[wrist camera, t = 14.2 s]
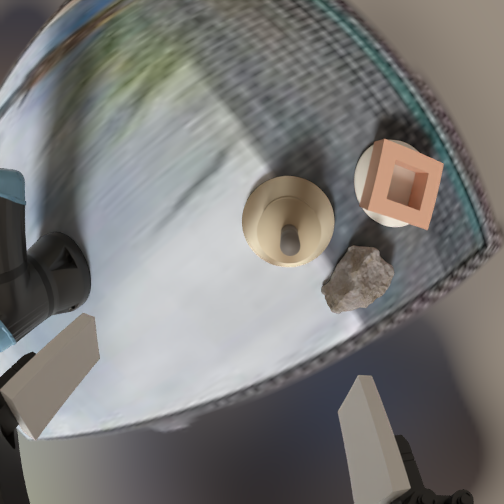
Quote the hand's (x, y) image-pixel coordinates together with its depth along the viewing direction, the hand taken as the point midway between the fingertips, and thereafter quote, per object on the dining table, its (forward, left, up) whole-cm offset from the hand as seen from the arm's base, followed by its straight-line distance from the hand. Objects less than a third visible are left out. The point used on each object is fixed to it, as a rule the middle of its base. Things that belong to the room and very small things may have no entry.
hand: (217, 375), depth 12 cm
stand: (+3, +3, -27) cm, 27 cm away
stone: (+14, -2, -28) cm, 31 cm away
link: (+16, +12, -27) cm, 33 cm away
